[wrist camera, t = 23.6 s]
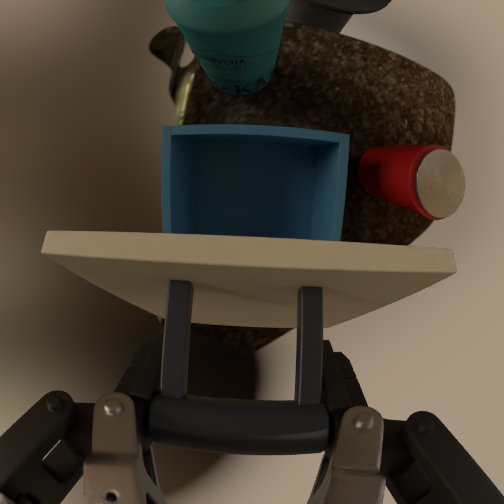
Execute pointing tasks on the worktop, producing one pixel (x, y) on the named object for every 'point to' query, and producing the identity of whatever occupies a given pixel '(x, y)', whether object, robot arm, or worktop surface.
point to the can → (414, 178)
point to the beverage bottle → (232, 39)
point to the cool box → (253, 181)
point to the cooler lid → (246, 317)
